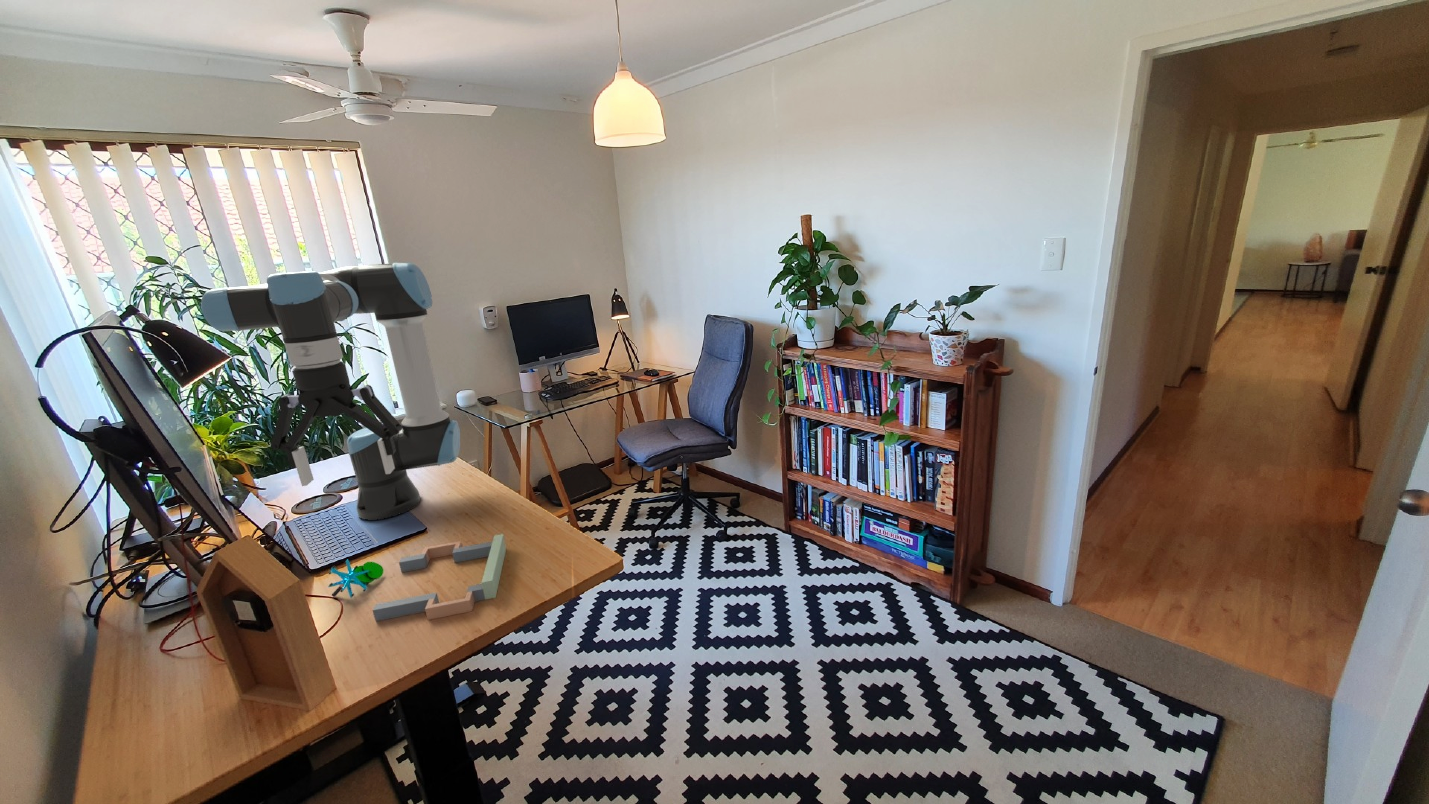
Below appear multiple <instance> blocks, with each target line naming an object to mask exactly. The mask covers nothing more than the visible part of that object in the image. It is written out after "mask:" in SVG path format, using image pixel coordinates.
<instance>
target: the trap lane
mask: <svg viewBox="0 0 1429 804" xmlns="http://www.w3.org/2000/svg"><path fill="white" fill-rule="evenodd" d="M506 551H507V546H506V541H505V535H504V533H501V534H495V535H493V539H492V541H488V542H484V543H483V542H482V543H478V544H471V545H467V546H463V543H462V541H461V540H460V541H454V542H448V543H442V544H437V545H431V546H426V547H423V550H422V552H421V553H420V554H415V555H409V556H405V557H404V556H403V557H401V558H400V559H399V561H398V563H399V568H400V572H401V573H404V572H410V571H416V570H422V569H425V568H427V566H428V564H429V561H430V560H431V559H435V558H440V557H445V556H449V555H450V556H451V555H452V557H453V562H454V563H460V562H465V561H471V560H476V559H481V558H487V561H486V564H485V568H484V572H483V576H482V578H481V579H482V580H481V583H480V584H474V585H473V584H472V585H469V586H468V587H467V591H466V595H465V598H458V599H453V600H449V601H444V602H443V601H442V602H440V601H439V596H438V592H431V593H426V594H421V595H420V594H419V595H415V596H411V597H406V598H400V599H394V600H390V601H384V602H380V603H375V605H374V607H373V609H372V612H373V617H374V620H375V622H379V621H384V620H385V621H386V620H389V619H390V620H391V619H393V618H399V617H403V616H410V615H414V614H419V613H420V614H421V613H425V614H426V619H427V621H430V620H435V619H439V618H444V617H449V616H454V615H459V614H464V613H469V612H472V611H473V609H474V605H475V602H481V601H486V600H490V599H495V598H496V597H497V592H498V589H499V584H500V580H501V574H502V572H503V571H502V570H503V565H504V560H505V557H506Z"/></svg>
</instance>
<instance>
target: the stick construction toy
mask: <svg viewBox="0 0 1429 804" xmlns="http://www.w3.org/2000/svg"><path fill="white" fill-rule="evenodd" d="M344 564H346V569H347V572H343V571H339V570H338V569H337V568H336V565H333V566H332V567H331V568H330V569H331V570H330V571H329V572H328V575H331V574H334V575H337V576H338V577H339V578H340V579H341V580H339V581H337V582H334V583H332V582H331V583H330V584H329V585H328V588H332V587H336V586H338V587H337V588H336V589H335V590H334V591H333V592H332V594H331V597H333V598H334V597H336V596H337V595H338V594H339V593H343V592H344V590H346V589H347V592H348V595H349V598H353V597H354V596H355V593H353V590H352V587H351V584H352V585H356V586H360V587H361V588H362V589H363V590H362V591H363V592H365V591H367V589H368V587H367V586H368V585H369V584H370V583H371V584H372V583H373V582H374V580H375V581H376V580H378V579H380V578H381V577H382V576H383V574H384V568H383V566H382V565H381V564H380V563H378V562H374V561H367V562H364V564H362V565H359V566H358V565H355V566H354V567H353V569H352V567H351V563H350V560H349V559H346V560H345V561H344Z"/></svg>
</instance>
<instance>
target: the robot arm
mask: <svg viewBox="0 0 1429 804" xmlns="http://www.w3.org/2000/svg"><path fill="white" fill-rule="evenodd" d="M432 306H433V299H432V291H431V289H430V285H429V283H428V281H427V278H426V276H425V275H424V273H423V271H422V270H421V268H420V267H418V266H417V265H416V264H415V263H411V262H391V263H377V264H367V265H366V264H365V265H364V264H363V265H350V266H349V265H348V266H342V267H340V268H339V267H338V268H334V269H331V270H330V269H329V270H326V271H323V272H317V271H314V270H313V271H310V270H309V271H297V272H296V271H295V272H294V271H293V272H282V273H273V274H269V275H268V277H267V278H266V283H263V284H255V285H246V286H236V287H235V286H234V287H228V286H227V287H223V288H215V289H214V288H213V289H209V290H207V291H205V293H204V294H203V295H202V297H201V301H200V307H201V311H202V313H203V317H204V319H205V321H206V322H207V324H208V325H210V326H211V327H212V328H213V329H215V330H216V331H220V332H233V331H235V332H240V331H248V330H258V329H259V330H260V329H267V328H268V329H269V328H270V329H271V328H278V327H279V330H280V333H281V336H282V342H283V344H284V347H285V351H286V354H287V358H288V360H289V361H288V362H289V364H290V365H291V366H292V367H295V368H293V370H292V375H293V378H294V383H295V385H296V388H297V391H298V394H296V395H294V394H292V393H286V394H284V395H283V396H282V395H281V397H279V398H278V405H279V413H278V416H277V421H276V423H275V428H274V432H273V435H272V439H271V443H270V445H269V446H270V449H271V450H273V451H277V450H279V451H284V452H285V453H286V457H287V459H288V463H289V466H290V467H291V469H296V471H297V474H298V478H299V480H300V484H301V487H306V486H308V485H309V484H311V483H312V481H314V479H315V478H314V476H313V472H312V469H311V466H310V463H309V459H308V455H307V453H306V449H305V446H303V445H302V446H299V445H300V443H301V441H302V440H303V438H304V436H305V435H306V433H307V432H308V430H309V429H310V428H311V426H312V424H313V423H314V421H315V420H316V418H317V417H318V418H320V419H321V418H322V419H324V418H327V417H329V416H330V417H331V416H332V417H339V416H341V415H345V416H347V417H349V418H352V419H353V420H355V422H358V423H359V424H361V425H362V426H363V428H361V429H359V430H356V431H354V432H353V433H352V434H350V435H349V436H348V438H347V440H346V445H347V449H348V456H349V458H350V461H351V464H352V465H351V466H352V469H353V471H354V472H353V473H354V475H355V479H356V482H357V486H358V491H357V501H356V512H357V516H358V517H359V518H360V519H361V518H362V520H365V519H368V520H367V521H377V519H378V520H383V519H384V518H385V519H387V518H388V517H389V518H391V517H390V516H393V517H395V516H398V514H399V513H402V514H404V513H407V512H409V511H410V510H412V509H413V508H415V507H417V506H418V505H419V504H420V502H421V495H420V491H419V490H418V488H417V487H416V486H415V484H414V483H413V481H412V480H411V478H410V477H409V476H408V472H407V470H413V469H420V468H421V469H422V468H427V467H434V466H435V467H436V466H437V467H440V466H442V465H446V464H452V463H454V462H455V461H456V460H457V458H458V457H459V453H460V449H461V448H460V446H461V431H460V426H459V422H458V421H457V420H453V419H452V420H451V417H450V413H448V412H446V411H445V410H444V409H443V408H442V406H441V405H442V404H441V401H440V396H439V392H438V387H437V383H436V379H435V378H436V377H435V373H434V369H433V364H432V359H431V356H430V355H431V354H430V350H429V346H428V341H427V337H426V336H427V335H426V332H425V328H424V327H425V326H424V321H425V320H426V318H427V317H428V311H427V310H428V309H430V308H432ZM355 314H356V315H357V314H358V315H359V314H374V315H375V316H374V317H375V319H376V322H377V323H379V324H381V325H383V326H384V328H385V331H386V336H387V341H388V344H389V349H390V353H391V358H392V361H393V367H394V370H395V374H396V378H397V383H398V387H399V392H400V396H401V400H402V404H403V408H404V412H405V417H404V418H403V419H402V420H401V423H400V422H399V421H398V420H397V418H395V417H394V415H393V414H392V413H391V412H390V411H389V410H388V409H387V407H386V406H384V404H383V403H382V402H381V401H380V400H379V399H378V397H377V396H376V395H375V391H374V389H373V387H372V386H371V385H370V384H366V385H364V386H363V387H359V388H353V387H352V386H351V384H350V379H349V378H350V377H349V374H348V371H347V370H348V369H347V367H346V363H345V362H344V361H341V360H342V359H343V358H344V355H343V351H342V349H341V345H340V341H339V337H338V333H337V329H336V326H335V323H337V322H343V321H345V320H348V319H349V318H350V317H352V316H353V315H355ZM355 397H357V398H358V399H359V400H360V401H363V403H364V405H365V406H366V407H367V408H368V409H369V410H370V411H371V412H372V414H374V415H375V417H376V418H375V417H373V416H372V415H371V414H369V413H368V412H367V411H366V410H364V409H362V408H361V406H360V405H359V404H357V403H356V402H354V399H355ZM299 404H300V405H301V406H303V407H304V408H305V409H306V410H305V412H304V413H303V415H302V417H301V419H300V421H299V422H298V424H297V425H296V427H295V429H294V430H293V432H292V433H291V435H290V437H289V438H288V436H289V432H290V429H291V428H290V427H291V425H292V421H293V418H294V414H295V410H296V407H297V406H298V405H299ZM377 419H378V420H377ZM399 515H400V514H399Z"/></svg>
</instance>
